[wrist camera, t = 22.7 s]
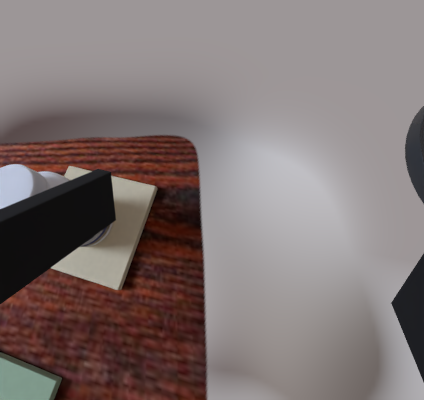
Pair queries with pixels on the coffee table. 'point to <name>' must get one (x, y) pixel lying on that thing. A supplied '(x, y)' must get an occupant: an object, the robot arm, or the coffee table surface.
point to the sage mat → (25, 381)
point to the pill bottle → (33, 189)
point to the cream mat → (112, 235)
